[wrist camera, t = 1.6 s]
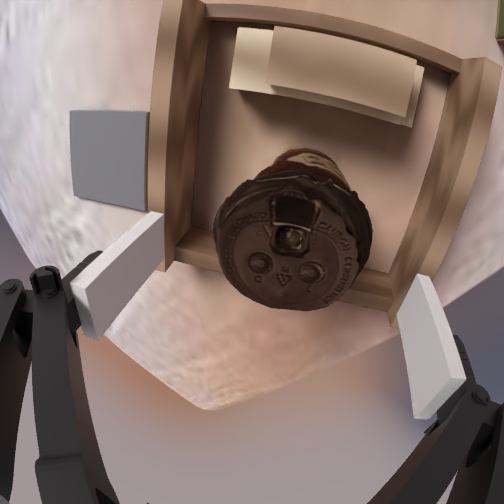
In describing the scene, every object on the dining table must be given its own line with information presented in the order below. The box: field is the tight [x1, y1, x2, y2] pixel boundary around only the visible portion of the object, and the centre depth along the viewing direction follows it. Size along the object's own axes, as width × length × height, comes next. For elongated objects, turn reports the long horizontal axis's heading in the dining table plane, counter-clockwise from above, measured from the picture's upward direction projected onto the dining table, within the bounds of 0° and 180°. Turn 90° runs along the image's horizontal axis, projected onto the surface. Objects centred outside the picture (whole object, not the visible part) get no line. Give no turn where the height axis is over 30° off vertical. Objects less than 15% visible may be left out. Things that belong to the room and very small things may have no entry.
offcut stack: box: [229, 26, 424, 127], centre depth 18 cm, size 5×14×6 cm, turn 81°
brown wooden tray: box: [148, 0, 502, 329], centre depth 22 cm, size 22×23×6 cm
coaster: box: [70, 110, 150, 211], centre depth 28 cm, size 10×10×1 cm
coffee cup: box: [212, 147, 373, 311], centre depth 21 cm, size 9×8×13 cm
